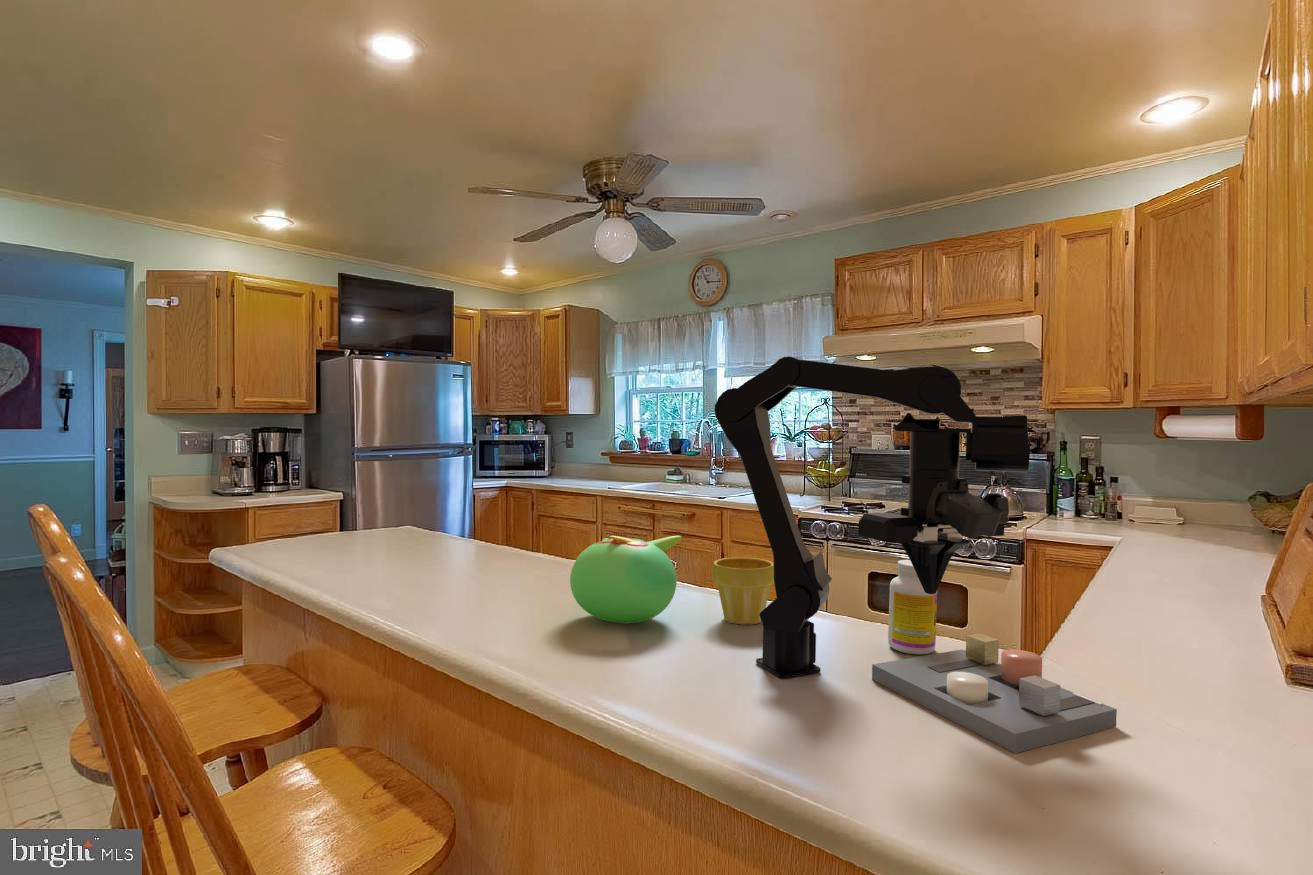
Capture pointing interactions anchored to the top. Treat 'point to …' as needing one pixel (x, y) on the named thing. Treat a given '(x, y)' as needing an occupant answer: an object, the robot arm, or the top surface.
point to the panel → (992, 702)
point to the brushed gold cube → (982, 648)
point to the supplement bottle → (911, 613)
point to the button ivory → (967, 687)
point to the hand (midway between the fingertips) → (930, 593)
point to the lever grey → (1039, 695)
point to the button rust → (1019, 665)
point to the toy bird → (624, 578)
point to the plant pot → (743, 587)
